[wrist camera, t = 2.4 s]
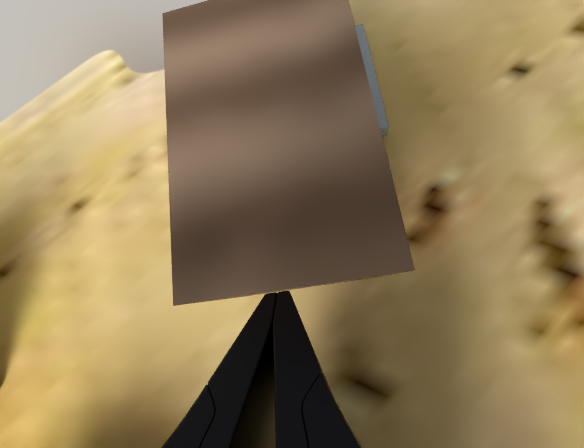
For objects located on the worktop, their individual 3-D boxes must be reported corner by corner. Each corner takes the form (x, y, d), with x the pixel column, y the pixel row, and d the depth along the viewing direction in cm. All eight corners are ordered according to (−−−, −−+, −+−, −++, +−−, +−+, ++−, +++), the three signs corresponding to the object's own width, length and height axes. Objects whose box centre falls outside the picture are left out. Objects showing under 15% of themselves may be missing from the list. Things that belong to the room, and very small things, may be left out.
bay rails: (386, 134, 22) (388, 126, 21) (201, 172, 24) (194, 166, 23) (361, 36, 25) (362, 24, 23) (194, 77, 26) (188, 68, 25)
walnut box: (376, 277, 20) (414, 270, 10) (246, 296, 21) (173, 305, 12) (337, 93, 24) (339, -37, 14) (228, 117, 25) (162, 13, 15)
